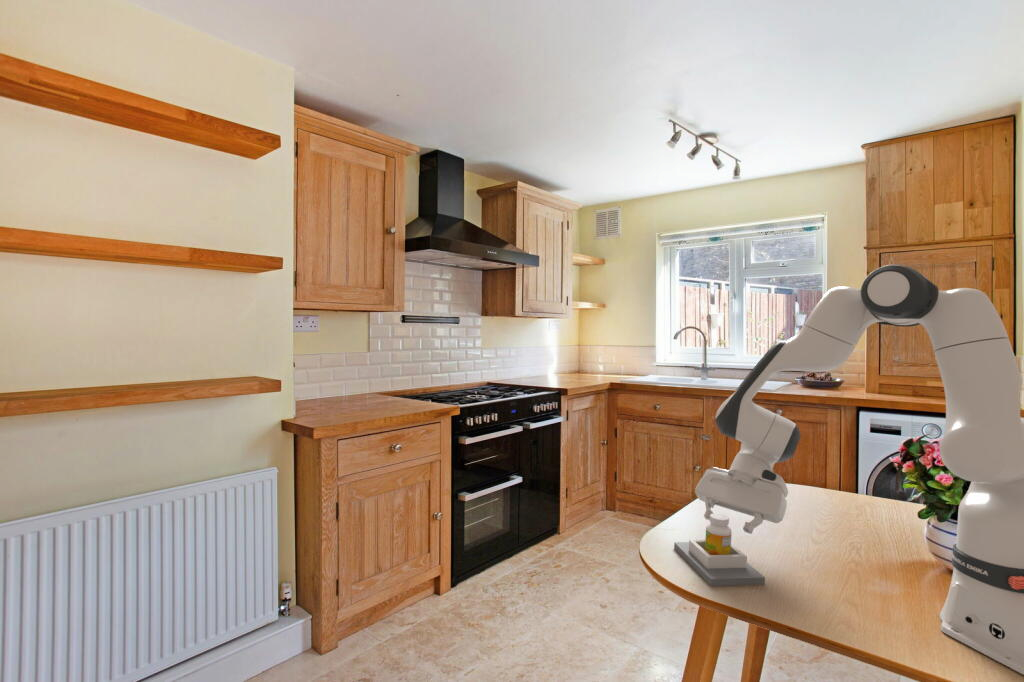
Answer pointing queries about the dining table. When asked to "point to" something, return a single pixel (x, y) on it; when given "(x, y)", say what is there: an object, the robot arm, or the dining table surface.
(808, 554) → the dining table surface
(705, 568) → the socket board
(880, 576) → the dining table surface
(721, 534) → the supplement bottle
